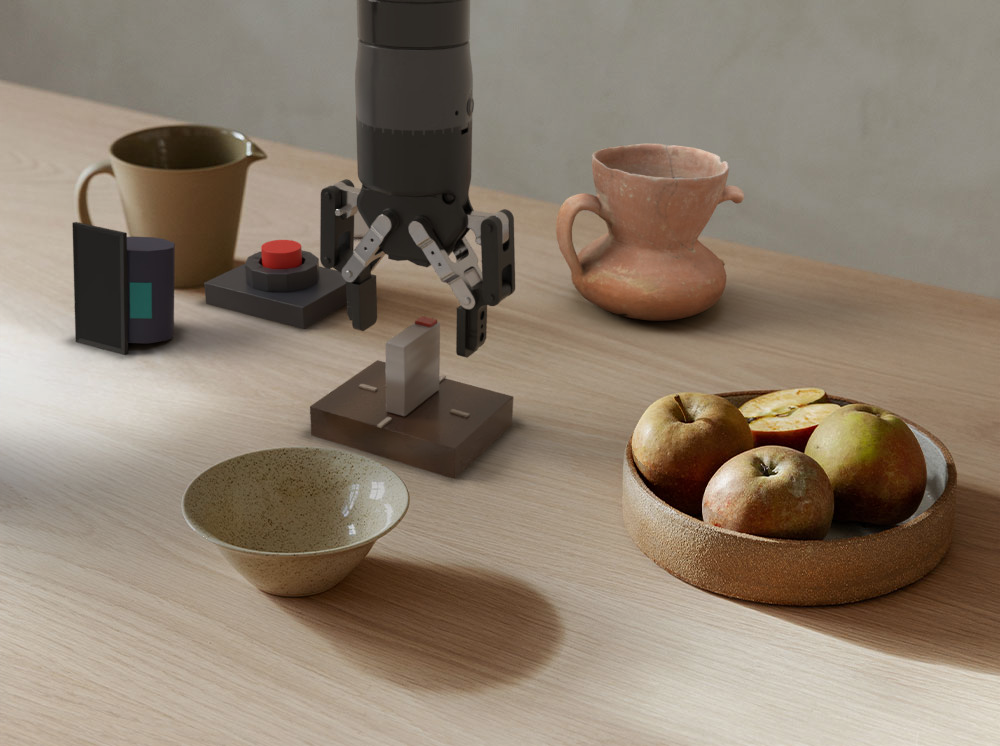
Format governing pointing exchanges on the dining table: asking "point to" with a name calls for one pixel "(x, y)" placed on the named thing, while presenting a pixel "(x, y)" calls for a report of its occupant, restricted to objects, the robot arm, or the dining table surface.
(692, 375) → the dining table surface
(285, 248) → the power button
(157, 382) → the dining table surface
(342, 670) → the dining table surface
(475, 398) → the brown base plate
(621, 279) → the ceramic jug
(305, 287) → the switch block
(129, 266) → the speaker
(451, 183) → the robot arm
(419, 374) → the block
